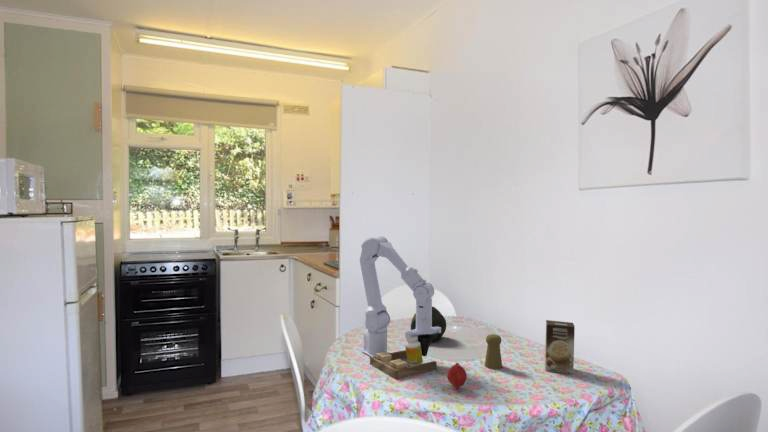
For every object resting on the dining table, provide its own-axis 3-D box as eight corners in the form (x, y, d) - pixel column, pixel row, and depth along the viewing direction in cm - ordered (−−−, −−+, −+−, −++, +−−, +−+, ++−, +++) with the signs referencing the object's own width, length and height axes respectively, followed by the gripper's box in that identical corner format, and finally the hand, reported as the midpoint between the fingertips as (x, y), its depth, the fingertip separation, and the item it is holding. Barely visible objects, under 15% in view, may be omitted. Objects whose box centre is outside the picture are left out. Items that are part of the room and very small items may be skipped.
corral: (369, 364, 156) (370, 357, 156) (409, 356, 165) (409, 349, 165) (395, 378, 142) (395, 371, 142) (436, 369, 151) (436, 361, 151)
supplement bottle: (420, 366, 152) (416, 339, 152) (405, 366, 154) (402, 338, 154) (424, 360, 157) (421, 333, 157) (410, 360, 159) (407, 333, 159)
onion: (445, 384, 138) (445, 359, 138) (463, 384, 138) (463, 358, 138) (449, 392, 132) (450, 365, 132) (468, 391, 133) (469, 365, 132)
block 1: (375, 365, 155) (375, 353, 155) (385, 362, 158) (385, 351, 157) (381, 368, 152) (382, 356, 152) (391, 366, 154) (391, 354, 154)
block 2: (389, 373, 148) (389, 361, 148) (399, 370, 150) (399, 359, 150) (397, 376, 144) (397, 364, 144) (406, 374, 147) (406, 362, 147)
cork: (502, 370, 151) (503, 337, 151) (484, 368, 152) (485, 336, 152) (501, 364, 157) (502, 333, 157) (484, 362, 158) (484, 332, 158)
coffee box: (544, 371, 151) (545, 324, 150) (544, 365, 157) (545, 319, 156) (574, 374, 148) (574, 326, 147) (572, 368, 154) (573, 322, 153)
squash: (412, 319, 198) (412, 299, 188) (446, 322, 196) (447, 301, 186) (409, 347, 188) (409, 327, 178) (445, 351, 186) (446, 330, 176)
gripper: (413, 322, 151) (413, 362, 151) (446, 317, 159) (446, 355, 159) (402, 318, 157) (402, 356, 157) (434, 313, 165) (434, 349, 165)
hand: (423, 355), depth 158 cm, fingers closed
